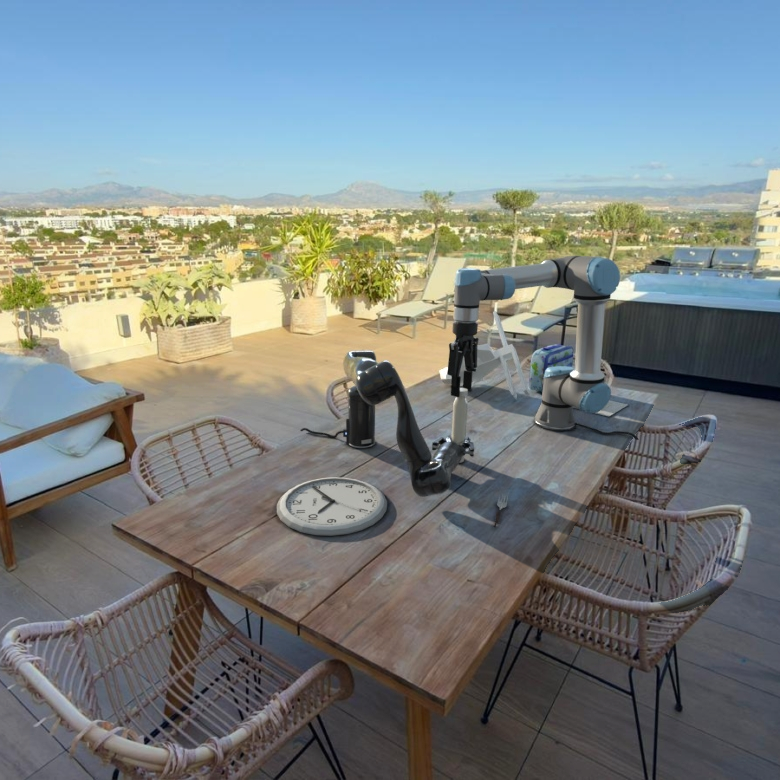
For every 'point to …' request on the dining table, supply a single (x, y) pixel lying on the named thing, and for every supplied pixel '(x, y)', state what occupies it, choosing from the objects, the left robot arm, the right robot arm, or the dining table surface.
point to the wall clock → (331, 506)
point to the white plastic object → (492, 362)
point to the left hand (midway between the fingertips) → (460, 438)
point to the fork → (500, 505)
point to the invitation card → (611, 408)
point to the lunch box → (548, 363)
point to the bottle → (459, 421)
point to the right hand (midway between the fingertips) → (461, 393)
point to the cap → (463, 391)
